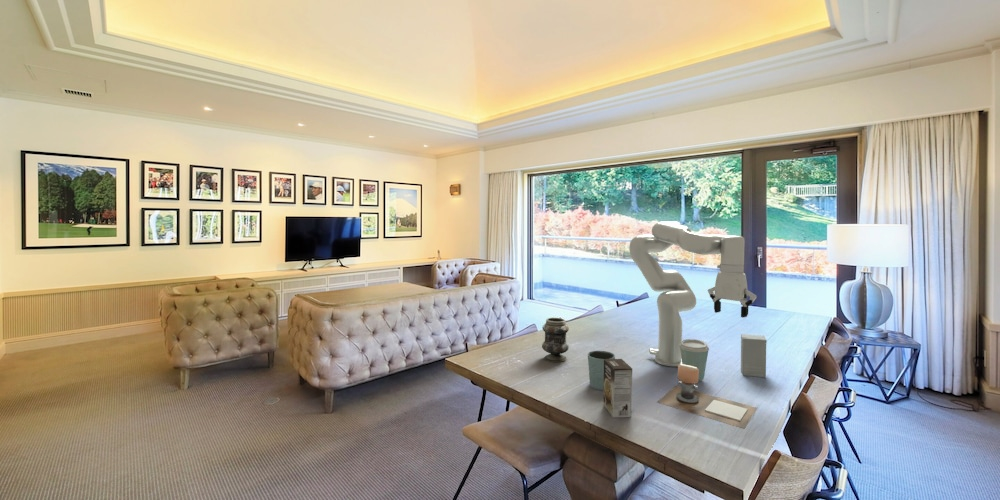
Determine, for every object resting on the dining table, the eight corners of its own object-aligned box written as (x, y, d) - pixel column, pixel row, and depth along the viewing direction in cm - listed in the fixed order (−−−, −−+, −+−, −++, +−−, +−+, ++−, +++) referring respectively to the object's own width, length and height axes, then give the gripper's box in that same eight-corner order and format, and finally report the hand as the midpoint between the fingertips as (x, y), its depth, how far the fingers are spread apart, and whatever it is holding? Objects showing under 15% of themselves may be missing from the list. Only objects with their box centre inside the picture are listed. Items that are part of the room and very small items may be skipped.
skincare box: (763, 372, 164) (764, 334, 163) (766, 379, 158) (768, 339, 157) (739, 369, 168) (740, 332, 167) (741, 375, 161) (742, 337, 160)
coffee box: (602, 405, 136) (603, 358, 135) (620, 404, 137) (621, 357, 136) (612, 418, 127) (613, 368, 126) (631, 417, 128) (632, 367, 127)
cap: (674, 379, 137) (675, 366, 137) (681, 374, 142) (681, 361, 142) (694, 385, 133) (695, 370, 133) (700, 379, 138) (701, 365, 137)
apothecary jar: (572, 357, 184) (573, 318, 183) (562, 365, 174) (562, 324, 173) (548, 352, 191) (549, 315, 189) (537, 359, 181) (537, 320, 179)
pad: (704, 411, 130) (704, 409, 130) (713, 400, 137) (713, 399, 137) (740, 421, 123) (740, 420, 123) (747, 410, 130) (747, 408, 130)
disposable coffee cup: (706, 387, 150) (708, 348, 149) (675, 381, 156) (676, 343, 155) (709, 378, 159) (710, 340, 158) (679, 372, 165) (680, 336, 164)
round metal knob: (673, 399, 138) (673, 379, 137) (680, 393, 143) (680, 374, 142) (694, 406, 133) (695, 385, 133) (701, 399, 138) (702, 379, 138)
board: (656, 404, 136) (656, 402, 136) (675, 388, 149) (675, 385, 149) (744, 432, 119) (744, 428, 119) (757, 410, 132) (757, 407, 132)
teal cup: (599, 393, 146) (600, 360, 145) (581, 383, 155) (581, 352, 154) (620, 387, 151) (621, 356, 150) (601, 378, 159) (602, 348, 159)
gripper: (703, 267, 155) (702, 311, 156) (751, 272, 140) (749, 320, 141) (714, 266, 159) (713, 309, 160) (762, 270, 144) (760, 317, 145)
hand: (730, 314), depth 151 cm, fingers open, 9 cm apart
